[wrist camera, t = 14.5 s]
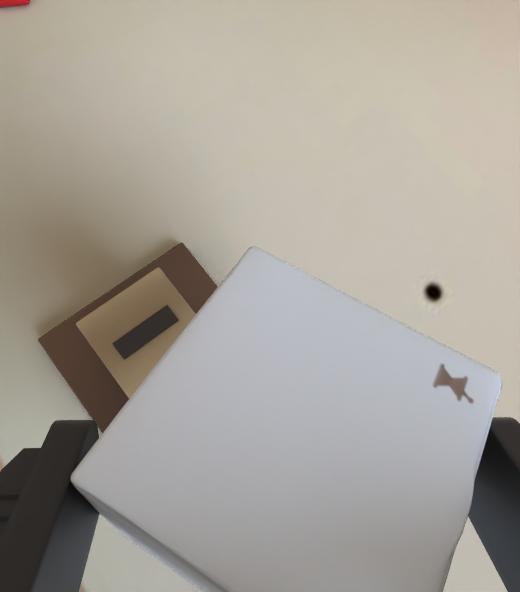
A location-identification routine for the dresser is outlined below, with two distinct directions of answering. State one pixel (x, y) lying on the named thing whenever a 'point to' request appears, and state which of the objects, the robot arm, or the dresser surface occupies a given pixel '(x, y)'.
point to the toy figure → (13, 2)
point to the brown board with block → (127, 332)
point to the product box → (296, 444)
